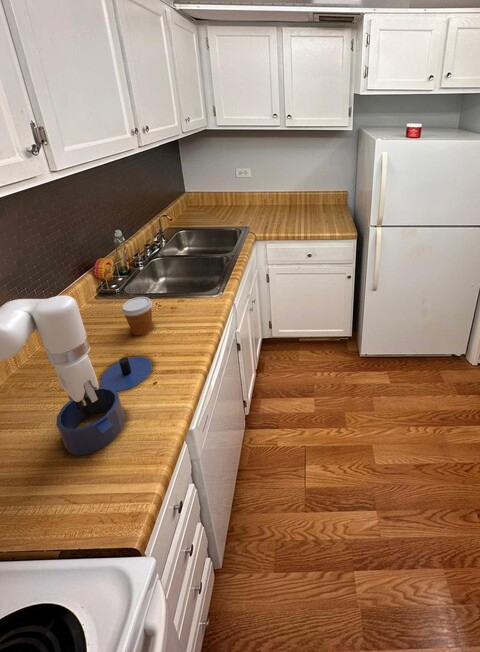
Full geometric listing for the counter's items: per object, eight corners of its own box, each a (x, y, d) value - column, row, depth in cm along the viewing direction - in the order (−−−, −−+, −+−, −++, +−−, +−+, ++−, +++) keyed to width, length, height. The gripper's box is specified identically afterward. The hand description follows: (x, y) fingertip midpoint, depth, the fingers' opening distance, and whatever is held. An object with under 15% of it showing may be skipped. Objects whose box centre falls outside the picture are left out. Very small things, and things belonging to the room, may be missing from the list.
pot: (85, 475, 74) (76, 449, 71) (52, 432, 83) (43, 407, 80) (140, 431, 84) (134, 407, 81) (105, 398, 93) (98, 374, 90)
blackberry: (84, 417, 78) (79, 403, 77) (78, 410, 80) (73, 396, 79) (100, 407, 81) (95, 393, 79) (93, 400, 83) (89, 386, 81)
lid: (116, 402, 92) (111, 385, 90) (92, 380, 99) (87, 364, 97) (161, 371, 102) (158, 355, 100) (137, 353, 109) (133, 338, 107)
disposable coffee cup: (122, 335, 118) (114, 307, 113) (145, 320, 126) (139, 293, 121) (140, 343, 114) (133, 314, 109) (163, 327, 122) (157, 300, 117)
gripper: (34, 343, 75) (56, 403, 82) (65, 376, 67) (87, 439, 73) (71, 326, 81) (89, 383, 88) (104, 354, 72) (122, 414, 79)
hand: (88, 408), depth 81 cm, fingers closed on blackberry, 3 cm apart
